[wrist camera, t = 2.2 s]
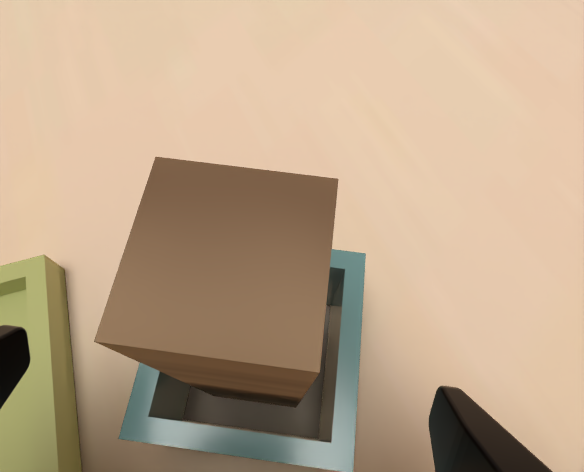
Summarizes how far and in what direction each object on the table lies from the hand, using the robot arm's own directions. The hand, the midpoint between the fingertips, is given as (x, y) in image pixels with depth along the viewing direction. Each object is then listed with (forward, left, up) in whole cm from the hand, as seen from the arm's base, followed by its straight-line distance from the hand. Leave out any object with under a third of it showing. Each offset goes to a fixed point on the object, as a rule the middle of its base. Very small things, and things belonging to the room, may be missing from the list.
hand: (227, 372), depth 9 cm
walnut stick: (+1, -1, -9) cm, 9 cm away
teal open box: (+1, -1, -9) cm, 9 cm away
